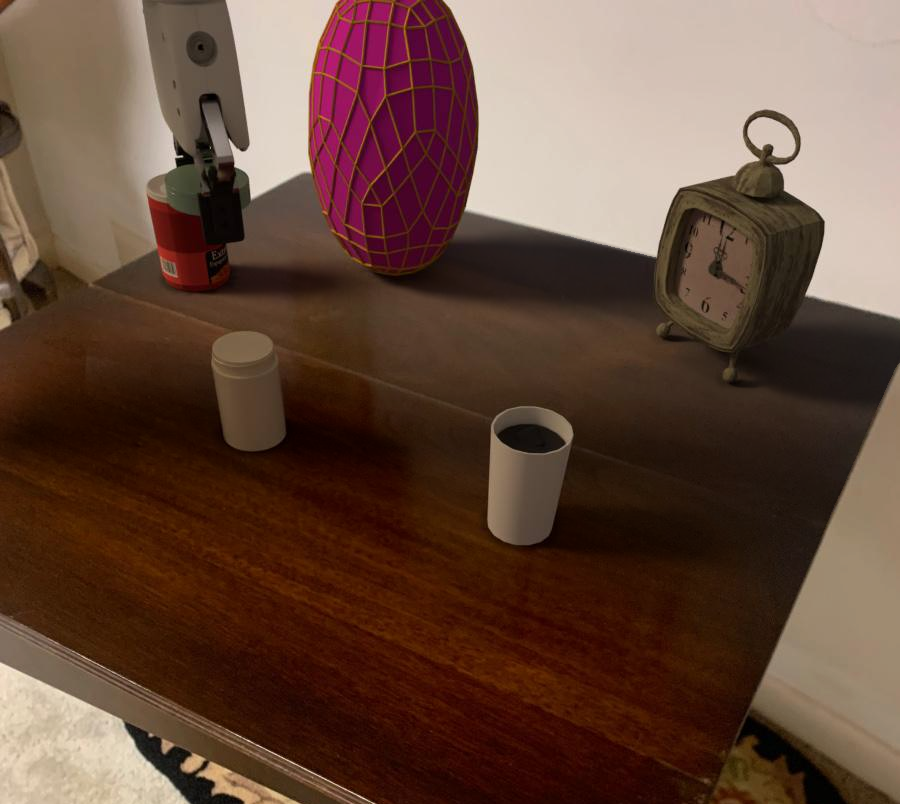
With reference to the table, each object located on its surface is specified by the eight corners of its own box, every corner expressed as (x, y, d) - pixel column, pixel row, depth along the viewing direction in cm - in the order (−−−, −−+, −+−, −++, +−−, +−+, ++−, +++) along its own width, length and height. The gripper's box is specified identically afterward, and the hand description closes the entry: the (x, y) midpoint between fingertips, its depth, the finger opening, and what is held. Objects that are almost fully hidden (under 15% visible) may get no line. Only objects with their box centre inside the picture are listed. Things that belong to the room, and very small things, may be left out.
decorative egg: (316, 233, 117) (297, -43, 95) (461, 232, 119) (476, -38, 97) (315, 304, 104) (294, 3, 82) (479, 302, 106) (500, 8, 84)
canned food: (225, 294, 104) (211, 199, 96) (157, 291, 104) (137, 196, 96) (236, 264, 110) (223, 172, 102) (170, 261, 109) (153, 169, 101)
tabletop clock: (639, 333, 102) (691, 95, 84) (696, 315, 106) (758, 83, 88) (728, 395, 94) (807, 146, 76) (787, 373, 98) (875, 130, 80)
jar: (216, 448, 84) (200, 361, 77) (232, 412, 88) (218, 326, 81) (279, 454, 84) (268, 366, 77) (291, 417, 88) (283, 331, 81)
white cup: (473, 503, 80) (481, 410, 73) (544, 495, 81) (558, 402, 74) (493, 553, 75) (503, 459, 68) (567, 543, 77) (585, 450, 70)
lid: (260, 188, 75) (258, 167, 74) (240, 220, 70) (238, 198, 69) (181, 180, 75) (178, 158, 74) (156, 211, 70) (152, 189, 69)
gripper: (266, -7, 57) (288, 262, 70) (199, -64, 68) (229, 178, 80) (147, -1, 54) (193, 276, 67) (98, -61, 65) (145, 188, 78)
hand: (213, 221), depth 74 cm, fingers closed on lid, 6 cm apart
